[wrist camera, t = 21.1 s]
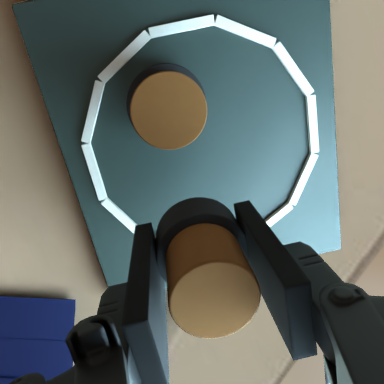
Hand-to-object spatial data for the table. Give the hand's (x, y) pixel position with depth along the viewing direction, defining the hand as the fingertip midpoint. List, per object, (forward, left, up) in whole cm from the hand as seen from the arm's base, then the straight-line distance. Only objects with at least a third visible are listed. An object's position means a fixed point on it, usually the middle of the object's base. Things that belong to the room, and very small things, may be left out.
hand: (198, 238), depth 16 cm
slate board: (-2, -3, -6) cm, 7 cm away
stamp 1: (0, -6, -5) cm, 8 cm away
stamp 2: (0, 0, 0) cm, 0 cm away
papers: (+25, +15, -6) cm, 30 cm away
